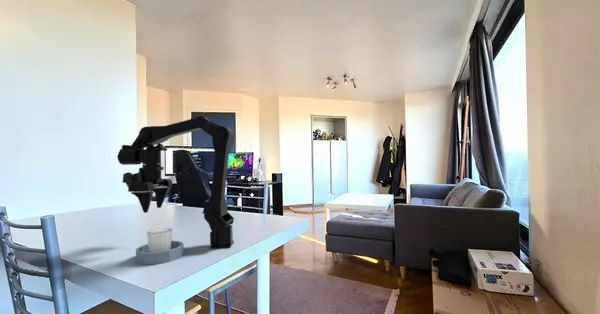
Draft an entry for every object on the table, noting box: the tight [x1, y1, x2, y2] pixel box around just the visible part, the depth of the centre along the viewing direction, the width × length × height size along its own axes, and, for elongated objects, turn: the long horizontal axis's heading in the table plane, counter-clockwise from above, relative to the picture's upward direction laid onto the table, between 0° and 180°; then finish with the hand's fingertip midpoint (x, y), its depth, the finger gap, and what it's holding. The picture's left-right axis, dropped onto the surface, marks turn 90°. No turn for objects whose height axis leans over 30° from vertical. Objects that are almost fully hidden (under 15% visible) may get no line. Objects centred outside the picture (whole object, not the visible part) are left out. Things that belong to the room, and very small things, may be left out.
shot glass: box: [146, 227, 173, 253], centre depth 87 cm, size 7×7×7 cm
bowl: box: [135, 240, 185, 265], centre depth 87 cm, size 13×13×3 cm
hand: (152, 210), depth 99 cm, fingers open, 9 cm apart
